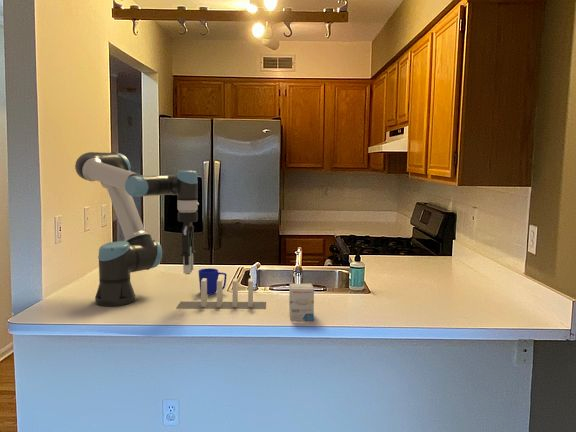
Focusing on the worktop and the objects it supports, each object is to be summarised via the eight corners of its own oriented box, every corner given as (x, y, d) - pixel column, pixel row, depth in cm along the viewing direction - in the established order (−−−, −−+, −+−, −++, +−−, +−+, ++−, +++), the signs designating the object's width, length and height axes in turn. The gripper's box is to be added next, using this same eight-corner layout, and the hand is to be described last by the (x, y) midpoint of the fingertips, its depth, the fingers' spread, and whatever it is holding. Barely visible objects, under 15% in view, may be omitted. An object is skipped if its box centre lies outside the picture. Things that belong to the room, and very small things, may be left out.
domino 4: (248, 307, 198) (248, 281, 197) (248, 303, 203) (248, 278, 202) (252, 307, 198) (252, 281, 197) (252, 303, 203) (253, 278, 202)
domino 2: (216, 306, 198) (216, 281, 197) (218, 303, 203) (218, 278, 202) (221, 306, 198) (220, 281, 197) (222, 303, 203) (222, 278, 202)
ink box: (311, 313, 192) (312, 283, 190) (313, 320, 183) (314, 288, 182) (288, 313, 191) (289, 283, 190) (289, 320, 183) (290, 288, 182)
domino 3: (232, 306, 198) (232, 281, 197) (233, 303, 203) (233, 278, 202) (236, 307, 198) (236, 281, 197) (237, 303, 203) (237, 278, 202)
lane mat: (175, 309, 195) (175, 308, 195) (180, 302, 205) (180, 301, 205) (265, 309, 196) (265, 308, 196) (266, 302, 206) (266, 301, 206)
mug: (223, 297, 214) (223, 273, 213) (195, 295, 216) (195, 271, 215) (229, 292, 222) (229, 269, 221) (202, 290, 224) (202, 267, 223)
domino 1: (201, 306, 198) (200, 281, 197) (203, 303, 203) (202, 278, 202) (205, 306, 198) (205, 281, 197) (207, 303, 203) (206, 278, 202)
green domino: (185, 274, 196) (185, 248, 195) (187, 271, 201) (187, 246, 200) (189, 274, 196) (189, 248, 195) (191, 271, 201) (191, 246, 200)
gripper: (193, 213, 188) (194, 276, 190) (201, 209, 205) (201, 266, 208) (173, 213, 187) (174, 276, 190) (182, 209, 205) (182, 266, 208)
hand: (188, 271), depth 199 cm, fingers closed on green domino, 5 cm apart
